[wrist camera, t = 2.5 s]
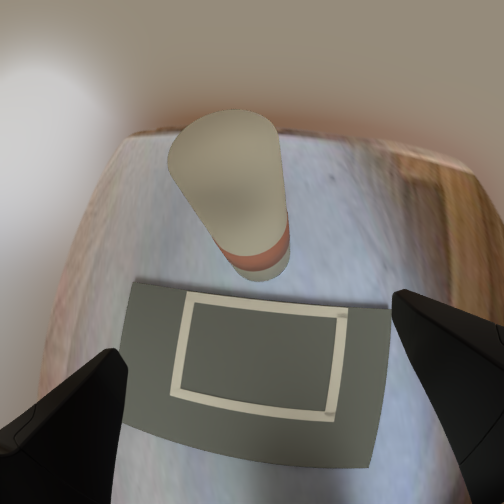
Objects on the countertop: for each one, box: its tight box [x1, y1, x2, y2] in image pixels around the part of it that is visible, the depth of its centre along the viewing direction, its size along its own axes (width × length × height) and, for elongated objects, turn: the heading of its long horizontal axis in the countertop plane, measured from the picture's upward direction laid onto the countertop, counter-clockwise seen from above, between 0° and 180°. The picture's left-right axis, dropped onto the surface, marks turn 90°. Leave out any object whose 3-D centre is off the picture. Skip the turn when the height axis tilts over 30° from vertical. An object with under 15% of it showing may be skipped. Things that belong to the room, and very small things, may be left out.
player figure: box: [168, 109, 290, 282], centre depth 18 cm, size 5×5×13 cm
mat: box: [119, 282, 392, 468], centre depth 20 cm, size 22×13×1 cm, turn 82°
